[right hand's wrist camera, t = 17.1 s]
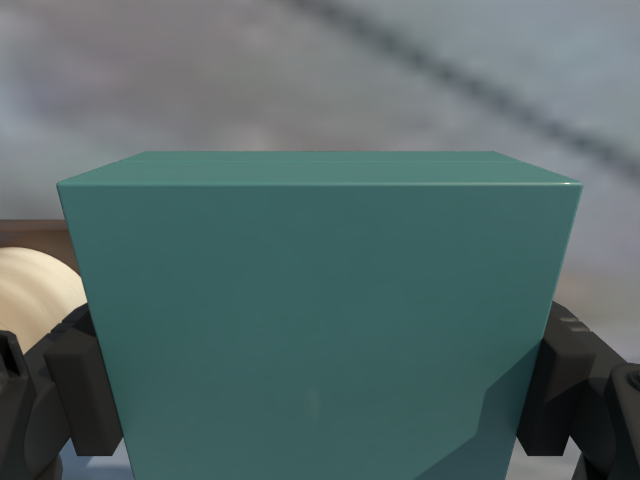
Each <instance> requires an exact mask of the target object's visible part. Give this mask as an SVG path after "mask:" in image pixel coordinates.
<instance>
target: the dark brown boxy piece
mask: <svg viewBox="0 0 640 480" xmlns="http://www.w3.org/2000/svg"><path fill="white" fill-rule="evenodd" d="M85 303H87V299H86V295H85V292H84V288H83V284H82V280H81V277H80V273H79V269H78V265H77V262H76V258H75V254H74V250H73V247H72V243H71V239H70V235H69V232H68V228H67V224H66V220H0V330H6V331H11V332H12V333H14V334H16V336H17V339H18V342H19V344H20V347H21V350H22V353H23V355H24V354H25V353H26V352H27V351H28V350H29V349H30V348H31V347H33V346H34V345H35V344H36V343H37V342H38V341H39V340H40V339H42V338H43V337H44V336H45V335H46V334H47V333H50V332H51V330H52V329H53V328H54V327H55V326H56V325H57V324H58V323H61V322H62V320H63V319H64V318H65V317H66V316H67V315H68V314H70V313H71V312H72V311H73V310H74V309H76V308H77V307H79V306H81V305H83V304H85Z"/></svg>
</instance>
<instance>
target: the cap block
mask: <svg viewBox="0 0 640 480" xmlns="http://www.w3.org/2000/svg"><path fill="white" fill-rule="evenodd" d="M582 188H583V184H582V182H579V181H577V180H574V179H571V178H568V177H565V176H562V175H560V174H557V173H554V172H551V171H548V170H545V169H543V168H540V167H537V166H534V165H531V164H528V163H525V162H522V161H519V160H516V159H514V158H511V157H508V156H505V155H502V154H499V153H497V152H315V151H145V152H143V153H140V154H137V155H134V156H131V157H128V158H126V159H123V160H120V161H118V162H114V163H111V164H108V165H105V166H103V167H100V168H97V169H94V170H91V171H88V172H86V173H83V174H80V175H77V176H74V177H71V178H69V179H66V180H63V181H60V182H58V183H57V190H58V194H59V198H60V202H61V205H62V209H63V213H64V217H65V220H66V224H67V228H68V232H69V235H70V239H71V243H72V247H73V250H74V254H75V258H76V262H77V265H78V269H79V273H80V277H81V280H82V284H83V288H84V292H85V295H86V299H87V303H88V307H89V310H90V314H91V318H92V322H93V325H94V329H95V333H96V337H97V340H98V344H99V348H100V352H101V356H102V359H103V363H104V367H105V371H106V374H107V378H108V382H109V386H110V389H111V393H112V397H113V401H114V404H115V408H116V412H117V416H118V419H119V423H120V427H121V431H122V434H123V438H124V442H125V446H126V449H127V453H128V457H129V461H130V464H131V468H132V472H133V476H134V479H135V480H505V477H506V473H507V470H508V466H509V462H510V458H511V455H512V451H513V447H514V443H515V440H516V436H517V432H518V428H519V425H520V421H521V417H522V413H523V410H524V406H525V402H526V398H527V395H528V391H529V387H530V383H531V380H532V376H533V372H534V368H535V365H536V361H537V357H538V353H539V350H540V346H541V342H542V338H543V335H544V331H545V327H546V323H547V320H548V316H549V312H550V308H551V305H552V301H553V297H554V293H555V290H556V286H557V282H558V278H559V275H560V271H561V267H562V263H563V260H564V256H565V252H566V248H567V245H568V241H569V237H570V233H571V230H572V226H573V222H574V218H575V215H576V211H577V207H578V203H579V200H580V196H581V192H582Z"/></svg>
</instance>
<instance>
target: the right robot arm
mask: <svg viewBox="0 0 640 480" xmlns="http://www.w3.org/2000/svg"><path fill="white" fill-rule="evenodd" d="M569 435H570V436H571V438H572V439H573V440H574V442H575V443H576V445H577V446H578V447H579V449H580V450H581V451H582V452H581V455H580V458H579V460H578V463H577V466H576V469H575V472H574V474H573V477H572V480H640V364H634V363H627V362H626V361H625V360H624V359H623V358H622V357H621V356H619V355H618V354H617V353H616V352H615V351H614V350H613V349H612V348H610V347H609V346H608V345H607V344H606V343H605V342H604V341H603V340H601V339H600V338H599V337H598V336H597V335H596V334H595V333H594V332H590V329H589V328H588V327H587V326H586V325H584V324H583V323H582V322H579V319H578V318H577V317H575V316H574V315H573V314H572V313H571V312H570V311H569V310H568V309H566V308H565V307H563V306H561V305H560V304H558V303H556V302H554V301H552V305H551V308H550V312H549V316H548V320H547V323H546V327H545V331H544V335H543V338H542V342H541V346H540V350H539V353H538V357H537V361H536V365H535V368H534V372H533V376H532V380H531V383H530V387H529V391H528V395H527V398H526V402H525V406H524V410H523V413H522V417H521V421H520V425H519V428H518V432H517V438H518V440H519V441H520V443H521V445H522V447H523V449H524V450H525V452H526V454H527V456H563V453H564V450H565V447H566V444H567V441H568V438H569ZM70 437H71V439H72V442H73V445H74V448H75V451H76V454H77V456H112V455H113V453H114V452H115V450H116V448H117V446H118V445H119V443H120V441H121V439H122V438H123V434H122V431H121V427H120V423H119V419H118V416H117V412H116V408H115V404H114V401H113V397H112V393H111V389H110V386H109V382H108V378H107V374H106V371H105V367H104V363H103V359H102V356H101V352H100V348H99V344H98V340H97V337H96V333H95V329H94V325H93V322H92V318H91V314H90V310H89V307H88V303H85V304H83V305H81V306H79V307H77V308H76V309H74V310H73V311H72V312H71V313H70V314H68V315H67V316H66V317H65V318H64V319H63V320H62V322H61V323H58V324H57V325H56V326H55V327H54V328H53V329H52V330H51V332H50V333H47V334H46V335H45V336H44V337H43V338H42V339H40V340H39V341H38V342H37V343H36V344H35V345H34V346H33V347H31V348H30V349H29V350H28V351H27V352H26V353H25V354H24V355H23V353H22V350H21V347H20V344H19V342H18V339H17V336H16V334H14V333H12V332H11V331H6V330H0V480H61V478H62V471H63V467H62V460H61V458H60V455H59V452H60V451H61V449H62V448H63V446H64V445H65V444H66V442H67V441H68V439H69V438H70Z"/></svg>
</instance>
